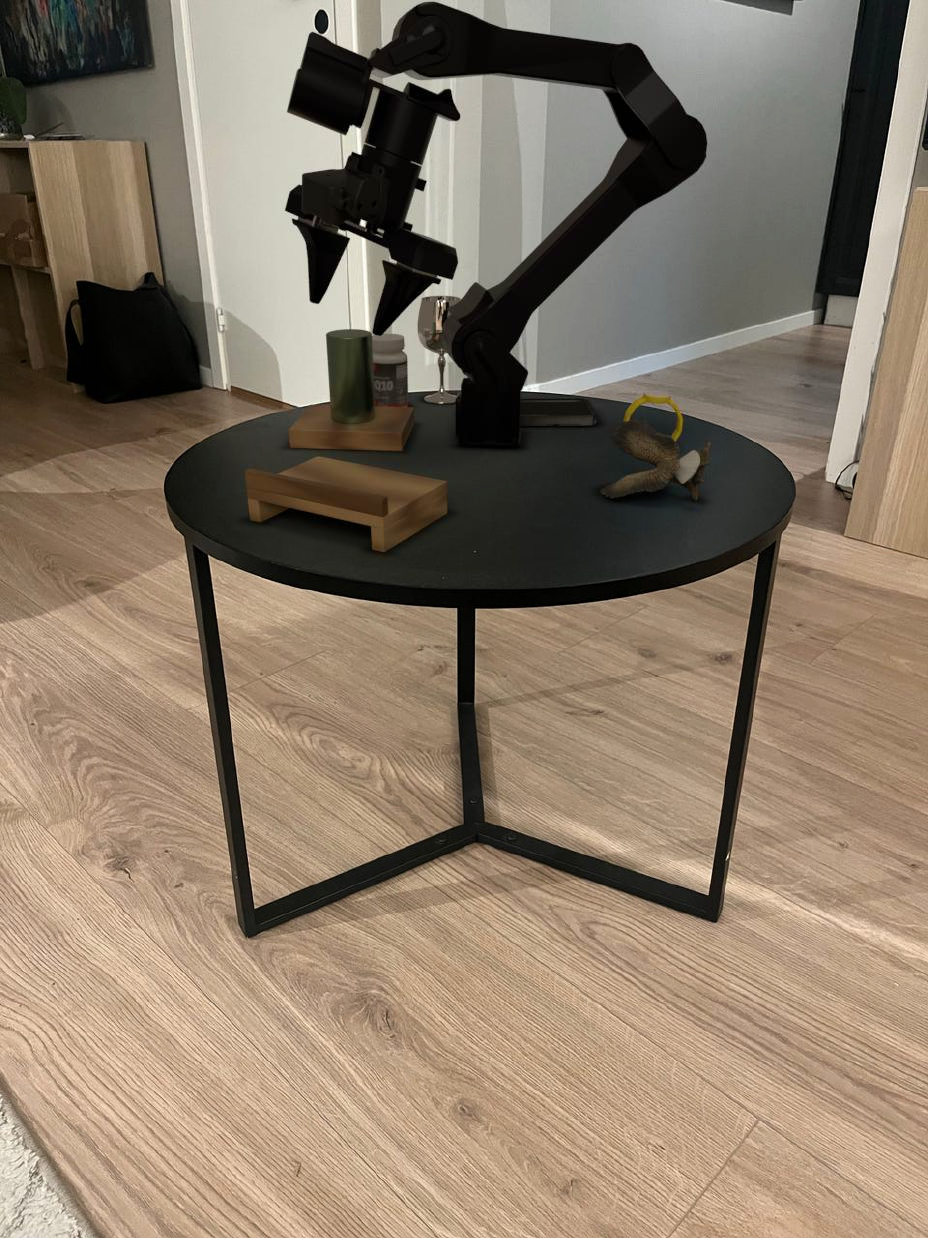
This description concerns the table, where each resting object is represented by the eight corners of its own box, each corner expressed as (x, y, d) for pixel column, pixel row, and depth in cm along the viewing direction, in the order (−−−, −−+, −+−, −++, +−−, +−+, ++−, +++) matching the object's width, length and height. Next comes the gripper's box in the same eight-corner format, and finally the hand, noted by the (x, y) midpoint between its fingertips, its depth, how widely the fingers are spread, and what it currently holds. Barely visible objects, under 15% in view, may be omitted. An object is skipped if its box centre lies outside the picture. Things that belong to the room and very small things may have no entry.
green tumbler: (380, 421, 102) (377, 336, 98) (337, 425, 101) (331, 339, 97) (368, 410, 106) (365, 327, 102) (326, 414, 105) (321, 330, 101)
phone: (464, 398, 114) (588, 398, 114) (464, 408, 115) (588, 407, 115) (465, 416, 107) (598, 415, 107) (465, 426, 108) (598, 425, 108)
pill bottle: (361, 409, 114) (358, 337, 110) (383, 400, 118) (381, 331, 114) (394, 414, 112) (392, 342, 108) (415, 405, 116) (414, 335, 112)
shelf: (320, 486, 90) (317, 440, 88) (447, 513, 84) (447, 464, 82) (249, 520, 82) (244, 470, 80) (384, 552, 76) (382, 499, 74)
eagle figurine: (700, 469, 91) (609, 446, 92) (721, 420, 85) (623, 396, 86) (687, 532, 88) (592, 508, 89) (708, 487, 81) (605, 461, 82)
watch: (623, 453, 99) (628, 396, 97) (619, 445, 102) (624, 389, 99) (680, 453, 99) (687, 397, 97) (675, 445, 102) (682, 390, 99)
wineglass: (459, 406, 116) (459, 303, 110) (413, 403, 117) (411, 301, 111) (469, 394, 121) (469, 295, 115) (425, 392, 122) (423, 294, 116)
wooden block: (414, 424, 109) (414, 407, 108) (402, 451, 100) (401, 432, 99) (310, 421, 109) (309, 404, 109) (289, 447, 101) (288, 429, 100)
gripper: (264, 104, 87) (223, 274, 93) (409, 158, 78) (353, 343, 84) (348, 138, 96) (305, 292, 102) (486, 191, 87) (430, 355, 93)
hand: (344, 318), depth 95 cm, fingers open, 9 cm apart
